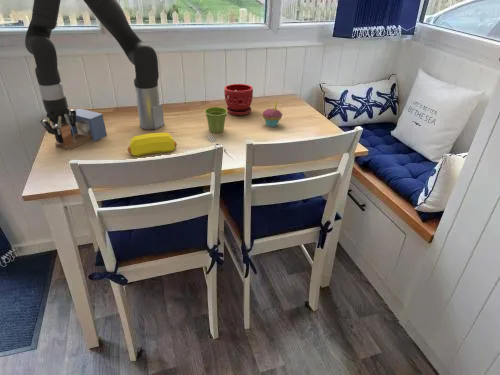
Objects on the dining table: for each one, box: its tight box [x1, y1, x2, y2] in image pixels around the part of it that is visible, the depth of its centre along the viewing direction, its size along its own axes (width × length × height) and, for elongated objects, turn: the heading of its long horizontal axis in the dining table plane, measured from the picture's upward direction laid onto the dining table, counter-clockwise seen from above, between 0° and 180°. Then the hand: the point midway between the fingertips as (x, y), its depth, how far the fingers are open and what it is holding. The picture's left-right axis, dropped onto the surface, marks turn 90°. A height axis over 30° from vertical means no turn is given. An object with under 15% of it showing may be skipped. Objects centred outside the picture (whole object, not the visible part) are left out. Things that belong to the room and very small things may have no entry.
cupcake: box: [262, 99, 283, 128], centre depth 156 cm, size 9×8×12 cm
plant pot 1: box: [204, 106, 229, 134], centre depth 150 cm, size 9×9×9 cm
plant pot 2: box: [224, 83, 254, 116], centre depth 169 cm, size 13×13×12 cm
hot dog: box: [127, 132, 178, 157], centre depth 134 cm, size 18×7×8 cm
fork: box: [206, 133, 227, 152], centre depth 138 cm, size 3×24×2 cm, turn 31°
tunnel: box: [68, 108, 108, 142], centre depth 143 cm, size 12×7×9 cm, turn 64°
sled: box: [55, 120, 93, 151], centre depth 139 cm, size 7×15×8 cm, turn 154°
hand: (65, 140), depth 136 cm, fingers closed on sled, 3 cm apart
